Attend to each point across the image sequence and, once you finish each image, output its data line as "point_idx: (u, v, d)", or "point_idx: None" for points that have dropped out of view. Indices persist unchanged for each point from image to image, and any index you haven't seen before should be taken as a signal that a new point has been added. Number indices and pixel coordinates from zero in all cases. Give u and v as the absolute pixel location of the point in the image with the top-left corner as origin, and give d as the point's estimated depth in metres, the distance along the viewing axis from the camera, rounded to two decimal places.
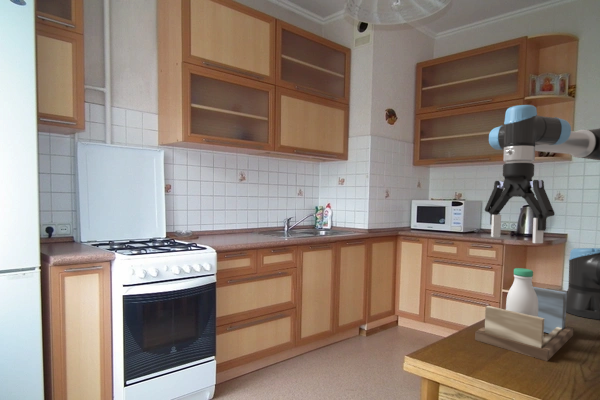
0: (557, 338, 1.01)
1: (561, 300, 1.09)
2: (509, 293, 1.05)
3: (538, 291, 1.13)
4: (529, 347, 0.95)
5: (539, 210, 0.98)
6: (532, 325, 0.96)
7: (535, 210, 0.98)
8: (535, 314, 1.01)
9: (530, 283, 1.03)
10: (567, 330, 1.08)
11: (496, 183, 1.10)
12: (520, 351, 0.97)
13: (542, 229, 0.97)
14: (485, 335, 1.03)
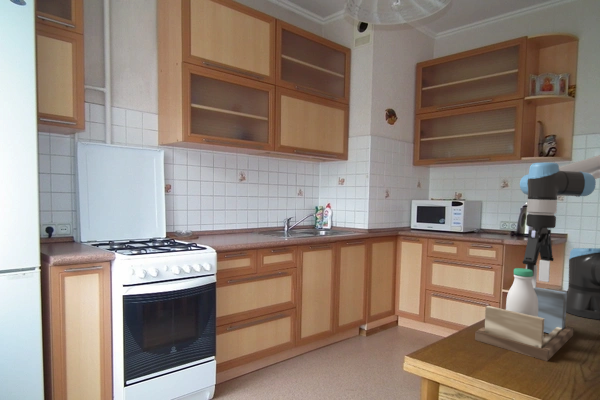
0: (557, 338, 1.01)
1: (561, 300, 1.09)
2: (509, 293, 1.05)
3: (538, 291, 1.13)
4: (529, 347, 0.95)
5: (529, 257, 1.10)
6: (532, 325, 0.96)
7: None
8: (535, 314, 1.01)
9: (530, 283, 1.03)
10: (567, 330, 1.08)
11: None
12: (520, 351, 0.97)
13: None
14: (485, 335, 1.03)
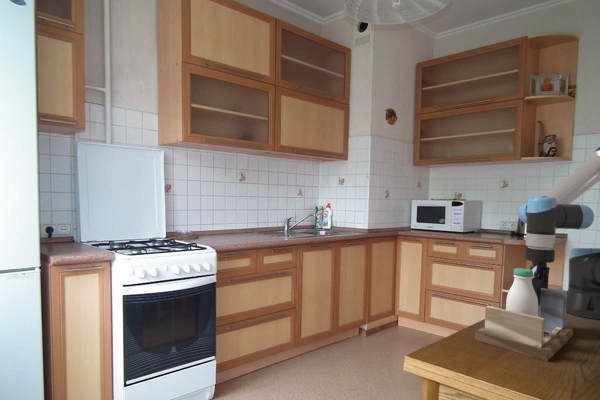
0: (557, 338, 1.01)
1: (561, 300, 1.09)
2: (509, 293, 1.05)
3: None
4: (529, 347, 0.95)
5: None
6: (532, 325, 0.96)
7: None
8: (535, 314, 1.01)
9: (530, 283, 1.03)
10: (567, 330, 1.08)
11: None
12: (520, 351, 0.97)
13: None
14: (485, 335, 1.03)
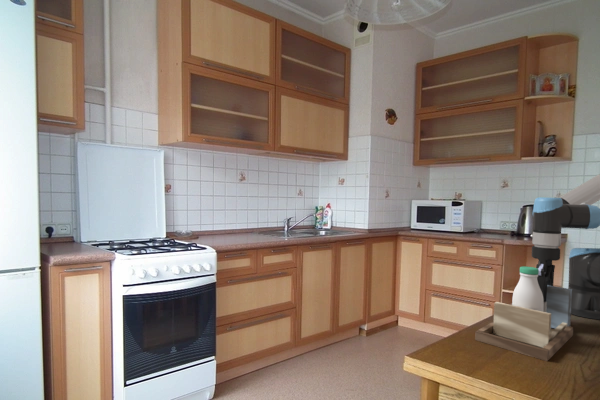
0: (557, 338, 1.01)
1: (566, 296, 1.14)
2: (515, 290, 1.08)
3: None
4: (529, 347, 0.95)
5: None
6: (539, 320, 1.01)
7: None
8: None
9: (535, 281, 1.06)
10: (567, 330, 1.08)
11: None
12: (520, 351, 0.97)
13: None
14: (485, 335, 1.03)
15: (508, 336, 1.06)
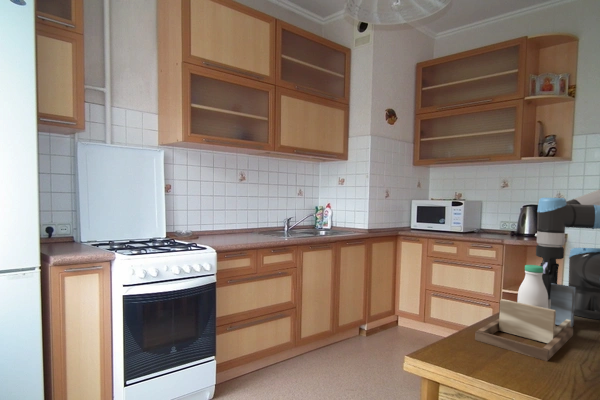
0: (557, 338, 1.01)
1: (570, 294, 1.17)
2: (520, 288, 1.12)
3: None
4: (529, 347, 0.95)
5: None
6: (544, 316, 1.04)
7: None
8: None
9: (540, 279, 1.09)
10: (567, 330, 1.08)
11: None
12: (520, 351, 0.97)
13: None
14: (485, 335, 1.03)
15: (514, 332, 1.09)
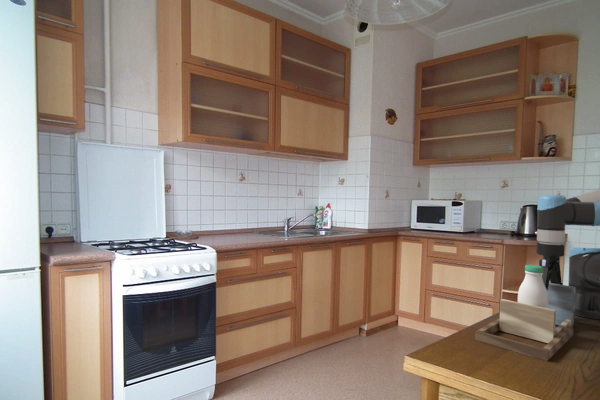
0: (557, 338, 1.01)
1: (570, 294, 1.17)
2: (520, 288, 1.12)
3: (548, 286, 1.21)
4: (529, 347, 0.95)
5: None
6: (544, 316, 1.04)
7: None
8: None
9: (540, 279, 1.09)
10: (567, 330, 1.08)
11: None
12: (520, 351, 0.97)
13: None
14: (485, 335, 1.03)
15: (514, 332, 1.10)
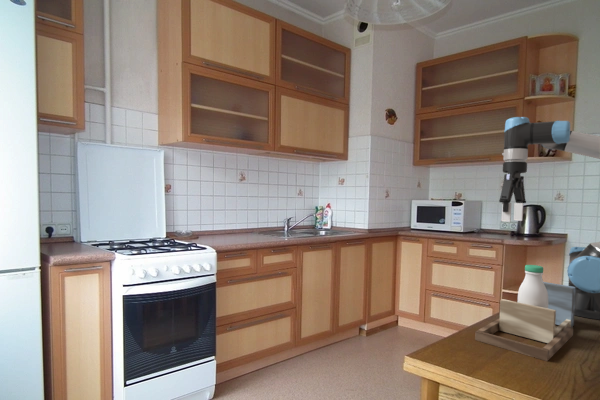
0: (557, 338, 1.01)
1: (570, 294, 1.17)
2: (520, 288, 1.12)
3: (548, 286, 1.21)
4: (529, 347, 0.95)
5: (504, 197, 1.31)
6: (544, 316, 1.04)
7: None
8: None
9: (540, 279, 1.09)
10: (567, 330, 1.08)
11: None
12: (520, 351, 0.97)
13: (504, 211, 1.30)
14: (485, 335, 1.03)
15: (514, 332, 1.10)
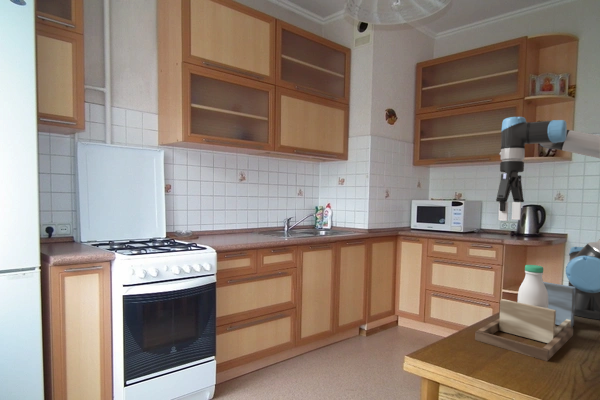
0: (557, 338, 1.01)
1: (570, 294, 1.17)
2: (520, 288, 1.12)
3: (548, 286, 1.21)
4: (529, 347, 0.95)
5: None
6: (544, 316, 1.04)
7: None
8: None
9: (540, 279, 1.09)
10: (567, 330, 1.08)
11: None
12: (520, 351, 0.97)
13: (500, 210, 1.32)
14: (485, 335, 1.03)
15: (514, 332, 1.10)
